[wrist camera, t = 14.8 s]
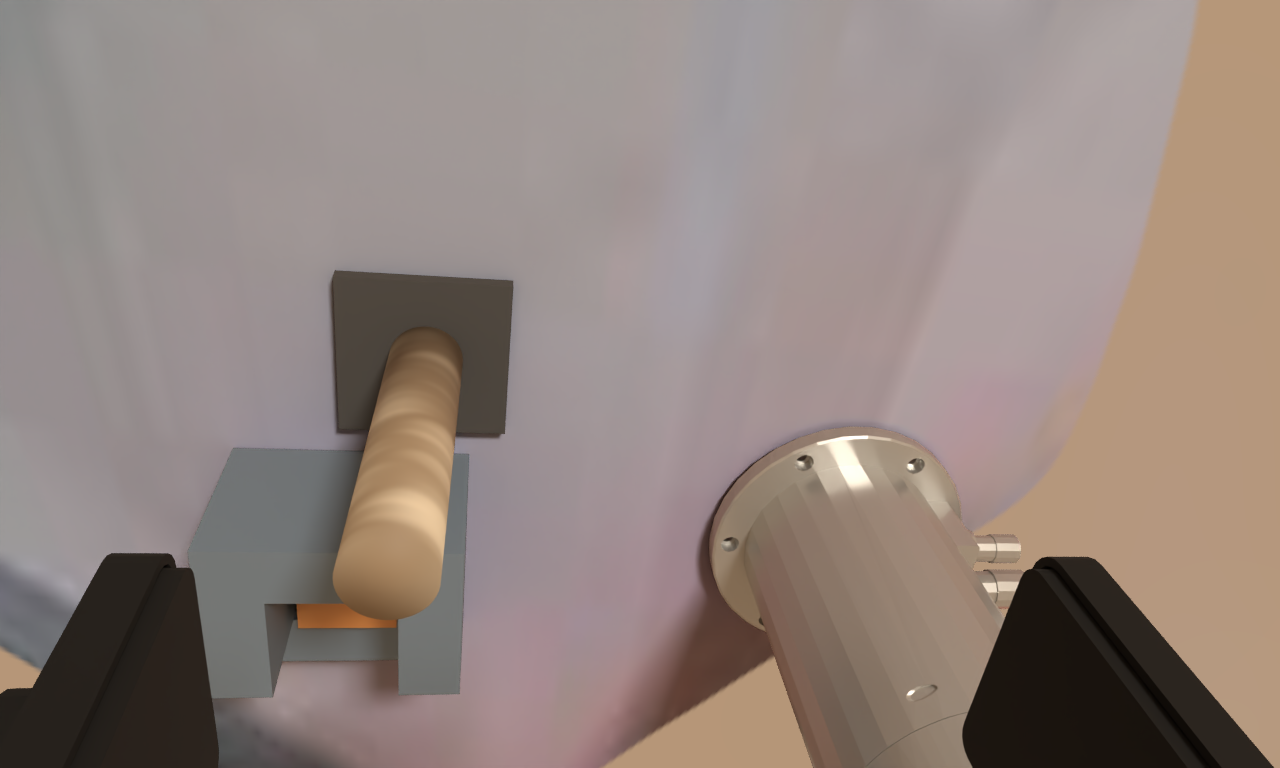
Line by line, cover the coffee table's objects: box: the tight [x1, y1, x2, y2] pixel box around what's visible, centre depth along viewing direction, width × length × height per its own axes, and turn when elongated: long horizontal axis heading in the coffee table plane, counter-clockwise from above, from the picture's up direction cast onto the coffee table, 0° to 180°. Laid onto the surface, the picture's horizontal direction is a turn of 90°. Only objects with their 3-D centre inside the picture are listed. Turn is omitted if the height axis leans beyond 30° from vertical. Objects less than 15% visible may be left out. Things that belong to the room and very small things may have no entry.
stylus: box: [333, 327, 463, 620], centre depth 33 cm, size 3×3×14 cm
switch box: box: [188, 448, 469, 698], centre depth 41 cm, size 10×10×7 cm
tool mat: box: [333, 271, 513, 434], centre depth 39 cm, size 7×7×1 cm
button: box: [297, 604, 398, 628], centre depth 42 cm, size 4×4×2 cm
